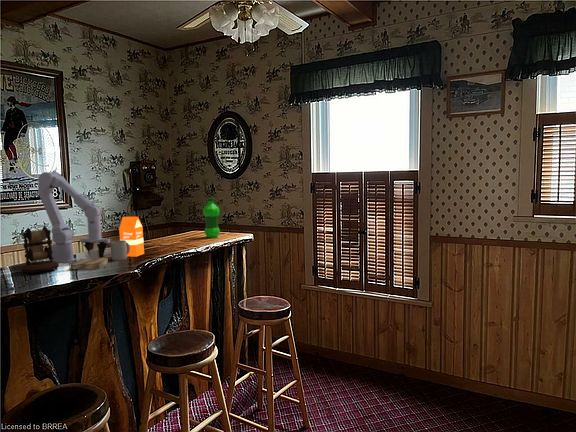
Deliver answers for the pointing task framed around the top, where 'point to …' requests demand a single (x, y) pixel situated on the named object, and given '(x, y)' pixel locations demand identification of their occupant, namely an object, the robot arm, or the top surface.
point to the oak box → (90, 263)
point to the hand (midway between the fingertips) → (96, 257)
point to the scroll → (38, 251)
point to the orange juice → (132, 235)
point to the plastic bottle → (211, 219)
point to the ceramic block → (94, 253)
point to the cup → (119, 250)
